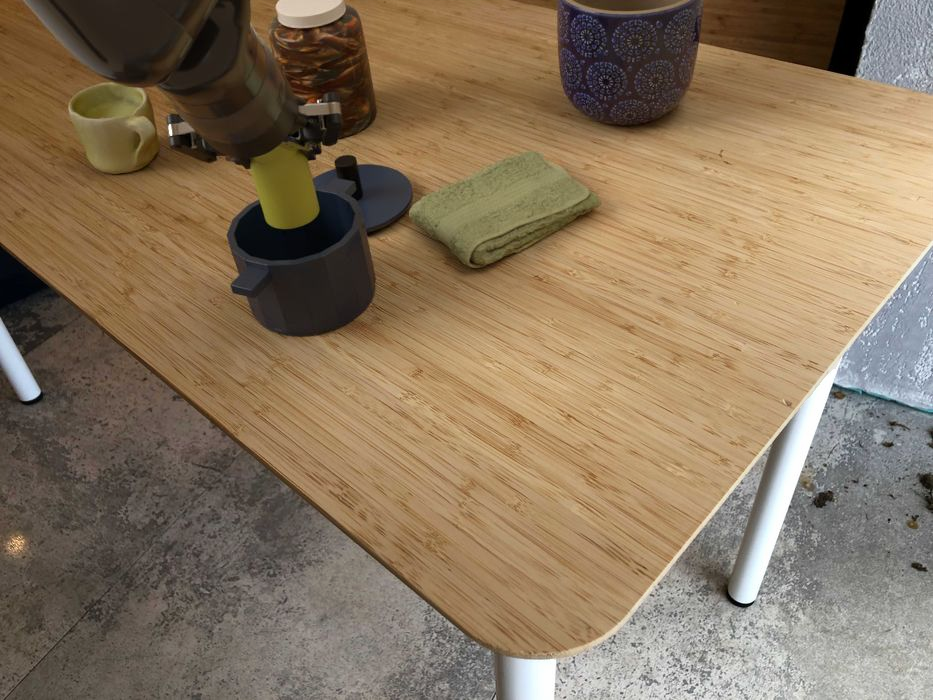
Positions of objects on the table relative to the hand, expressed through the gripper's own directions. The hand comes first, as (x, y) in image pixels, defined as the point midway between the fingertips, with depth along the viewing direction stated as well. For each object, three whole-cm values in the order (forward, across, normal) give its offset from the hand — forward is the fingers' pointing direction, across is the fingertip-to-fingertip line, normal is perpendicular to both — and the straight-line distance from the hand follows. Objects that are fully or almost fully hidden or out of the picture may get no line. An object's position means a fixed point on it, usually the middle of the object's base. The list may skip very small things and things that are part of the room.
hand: (279, 153), depth 75 cm
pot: (+9, 0, +12) cm, 15 cm away
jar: (+35, -2, -14) cm, 37 cm away
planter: (+30, -39, -9) cm, 50 cm away
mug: (+31, +23, -10) cm, 40 cm away
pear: (+2, 0, +5) cm, 5 cm away
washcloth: (+15, -20, +6) cm, 26 cm away
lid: (+19, -4, +1) cm, 20 cm away
